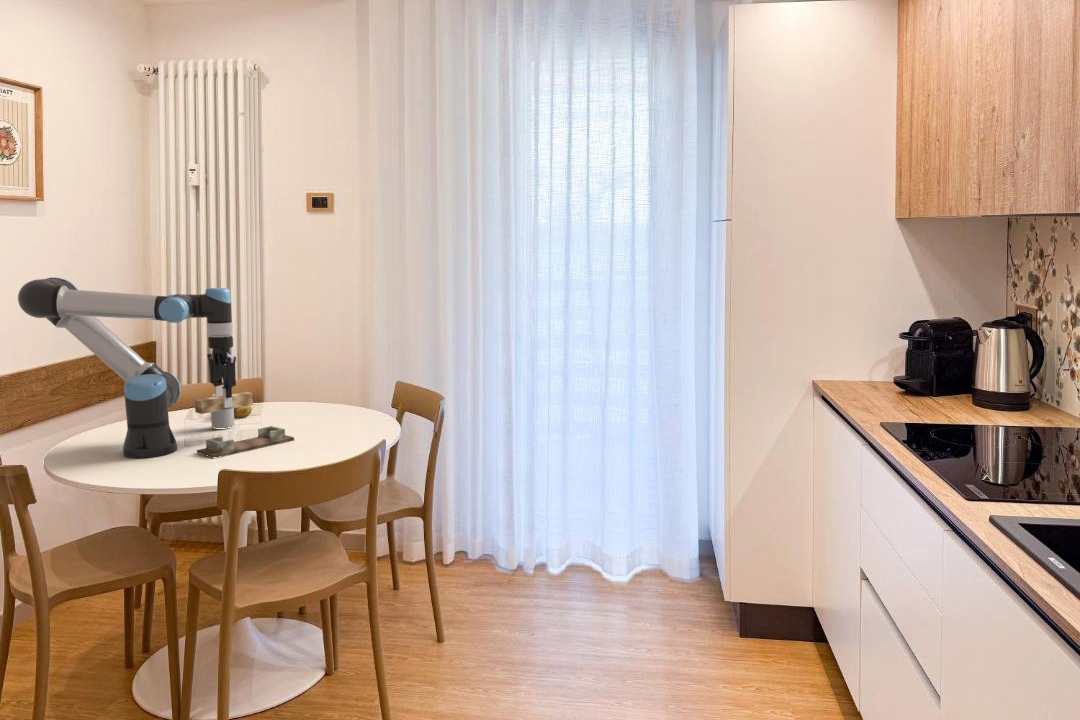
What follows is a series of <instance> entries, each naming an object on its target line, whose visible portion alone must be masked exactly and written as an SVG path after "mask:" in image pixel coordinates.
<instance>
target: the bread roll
mask: <svg viewBox="0 0 1080 720" xmlns="http://www.w3.org/2000/svg"><path fill="white" fill-rule="evenodd" d="M252 410H253V409H252V405H249V406H243V407H238V408H234V418H236V419H241V418H242V419H243V418H247V417H249V415H250V414H251V413H252Z"/></svg>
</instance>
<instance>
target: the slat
mask: <svg viewBox="0 0 1080 720" xmlns="http://www.w3.org/2000/svg"><path fill="white" fill-rule="evenodd" d="M249 405H251V406H253V393H252V392H249V391H241V392H236V393H232V407H228V408H224V406H223V395H222V396H216V397H212V396H210V397H205V398H199V399H194V409H195V410H194V411H195V413H197V414H201V415H203V414H209V413H210V414H211V412H215V411H221V410H227V409H232V408H238V407H243V406H249Z"/></svg>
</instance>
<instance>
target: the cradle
mask: <svg viewBox="0 0 1080 720" xmlns="http://www.w3.org/2000/svg"><path fill="white" fill-rule="evenodd" d="M257 435H258V436H257V437H256V436H255V437H251V438H247V439H243V440H242V439H241V440H238V441H235V439H228V440H223V436H217V437H216V436H215V437H211V438H208V439H207V438H206V439H205V448H199V449H196V453H197V452H198V453H201V454H204V455H203V456H205V455H208V456H211V457H218V458H220V457H219V456H222V457H225V456H226V455H227V456H230V455H236V454H240V453H244V452H249V451H252V450H257V449H262V448H267V447H270V446H274V445H278V444H284V443H288V442H292V441H295V437H294V436H290V435H286V429H285V428H282V427H281V428H280V427H277V426H272V425H269V426H265V427H261V428H257ZM198 453H197V454H198ZM235 453H236V454H235ZM201 454H200V455H201ZM208 456H207V457H208ZM211 457H210V458H211Z"/></svg>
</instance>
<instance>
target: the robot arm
mask: <svg viewBox="0 0 1080 720" xmlns="http://www.w3.org/2000/svg"><path fill="white" fill-rule="evenodd" d="M231 298H232V297H231V291H230V289H229V288H227V287H208V288H206V289H205V291H204V293H202V294H186V293H185V294H180V293H176V294H175V293H174V294H168V295H154V294H153V295H149V294H137V293H136V294H135V293H124V292H111V291H110V292H108V291H107V292H106V291H97V290H96V291H95V290H94V291H93V290H83V289H82V290H79V289H78V288H77V287H76V285H75V284H74V283H72V282H71V281H69V280H67V279H64V278H60V277H47V278H43V279H40V278H39V279H32V280H30V281H28V282H26V283H24V284H23V285H22V286H21V288H20V289H19V292H18V294H17V301H18V304H19V307H20V308H21V310H22V311H23V313H25V314H27V315H28V316H30V317H31V318H32V317H33V318H35V319H46V320H48V321H49V322H50V323H51V324H53V326H55V328H57V329H58V328H60V329H66V330H67V331H68V332H69V333H70V334H71V335H72V336H73V337H74V338H76V339H77V341H80V343H82V345H83V346H85V347H86V348H87V349H88V350H89V351H90V352H92V353H93V354H94V355H95V356H96V357H97V358H98V359H99V360H101V361H102V362H103V364H105V365H106V366H107V367H109V368H110V370H112V371H113V372H114V373H115V374H116V375H118V376H119V377H120V378H121V379H122V380H123V381H124V385H123V388H124V389H123V395H124V402H125V413H126V414H125V415H126V425H127V427H126V428H127V430H126V435H125V438H124V442H123V445H122V454H123V456H124V457H126V458H132V459H133V458H135V459H142V458H143V459H144V458H145V459H146V458H154V457H159V456H165V455H168V454H172V453H175V452H176V451H177V450H178V443H177V439H176V437H175V435H174V433H173V431H172V429H171V425H170V420H169V419H170V418H169V408H171V407H172V406H174V404H176V402H177V401H178V400H179V398H180V396H181V390H182V387H181V382H180V380H179V379H178V378H177V377H176V376H175V375H174V374H173V373H171V372H168V371H164V370H163V369H161V367H159V366H158V365H157V364H156V363H155V362H147V361H146V360H144V359H143V358H142V357H141V356H140V355H139V354H138V353H137V352H136V351H134V349H133V348H131V347H130V346H129V345H128V344H127V343H125V341H123V340H122V339H121V338H120V337H119V336H118V335H117V334H115V332H113V331H112V330H111V329H110V328H109V327H108V326H106V324H104V322H102V321H101V320H100V319H99V318H113V319H114V318H115V319H116V318H117V319H130V320H131V319H133V320H148V321H149V320H150V321H160V322H161V321H162V322H167V323H176V324H178V323H180V322H183V321H184V320H187V319H196V318H198V319H199V318H204V319H205V318H206V327H207V335H208V338H207V341H208V342H207V343H208V344H207V345H208V348H209V349H212V351H211V353H207V356H206V357H207V360H208V369H209V370H208V371H209V381H210V382H209V383H210V384H212V385H213V387H214V394H215V397H216V396H222V395H223V406H224V408H228V407H232V394H233V391H232V389H233V387H236V386H237V385H236V384H237V378H236V377H237V376H236V361H237V357H236V356H232V354H231V348H233V347H234V338H233V337H234V336H232V334H233V320H232V319H233V317H232V316H233V314H232V299H231Z"/></svg>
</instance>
